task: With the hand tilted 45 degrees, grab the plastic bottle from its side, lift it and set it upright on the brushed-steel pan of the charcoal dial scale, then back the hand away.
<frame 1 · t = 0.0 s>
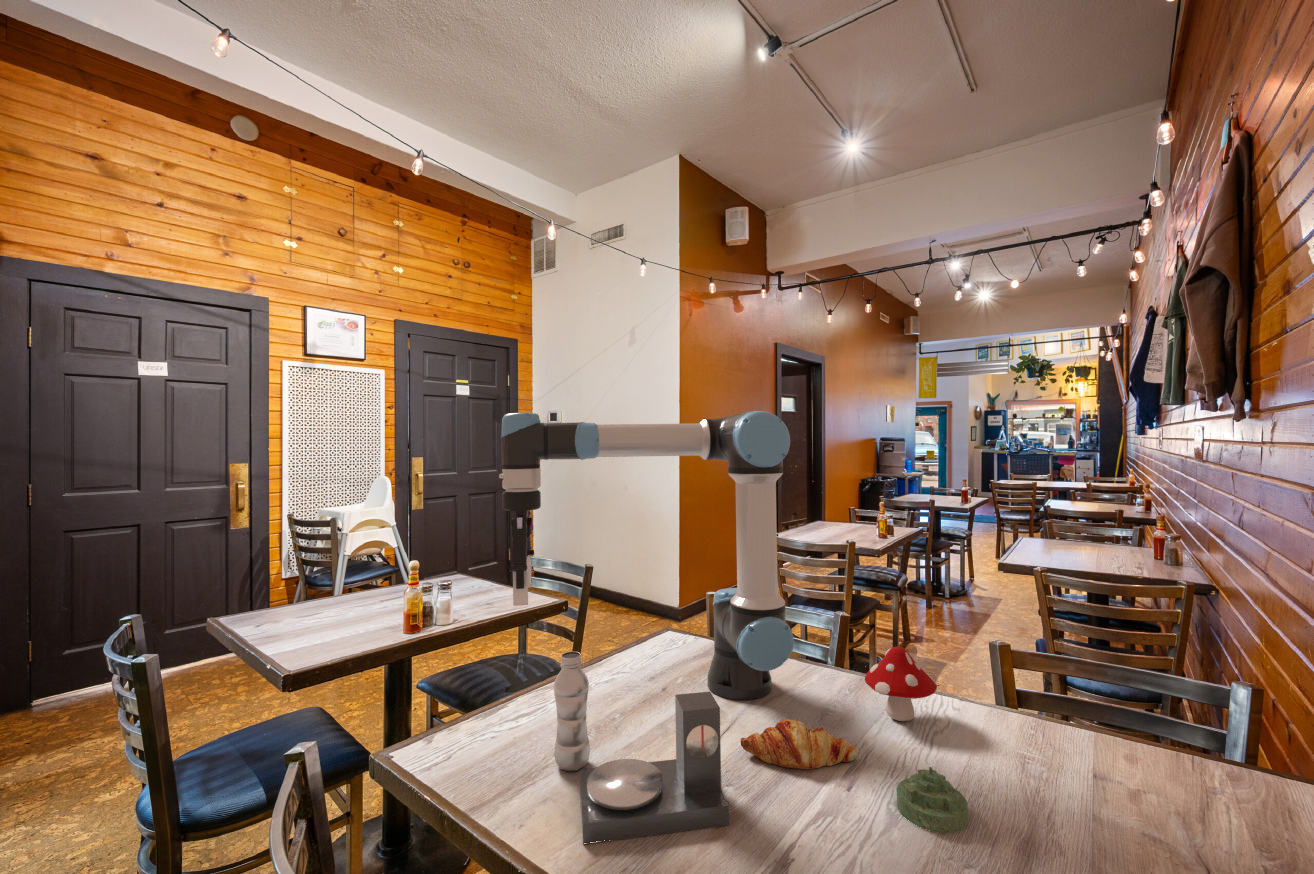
hand: (522, 595, 115), 28 cm above the table, tool pointing down, fingers open, 13 cm apart
decorative mushroom: (901, 719, 119), on the table
scale pan: (625, 782, 91), point 4 cm above the table, slide at 0.5 cm
decorative artifact: (931, 813, 89), on the table
plastic bottle: (572, 766, 103), on the table
croissant: (799, 760, 105), on the table
scale: (650, 805, 92), on the table
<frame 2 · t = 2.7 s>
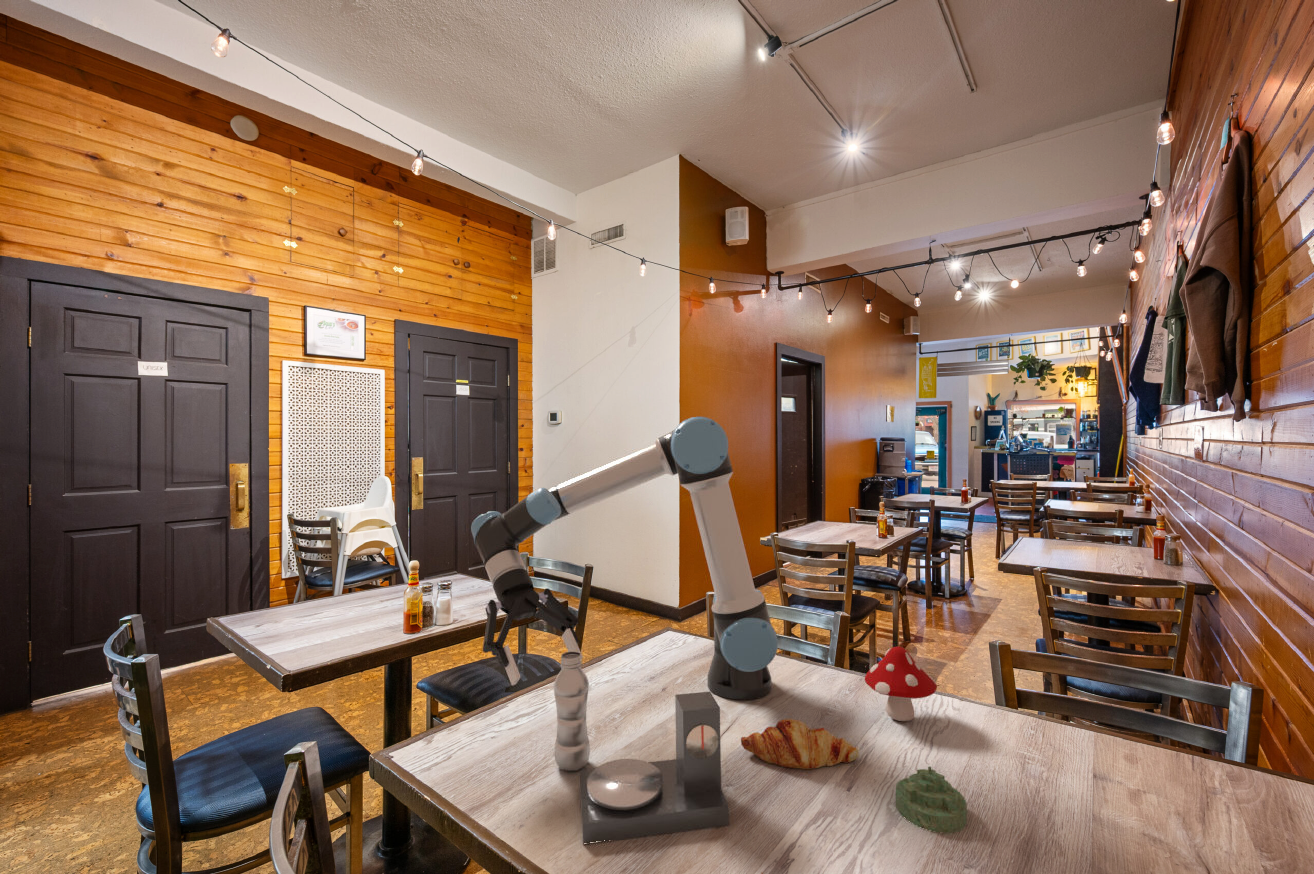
hand: (548, 671, 108), 16 cm above the table, tool tilted 45°, fingers open, 13 cm apart
nothing on the table moved.
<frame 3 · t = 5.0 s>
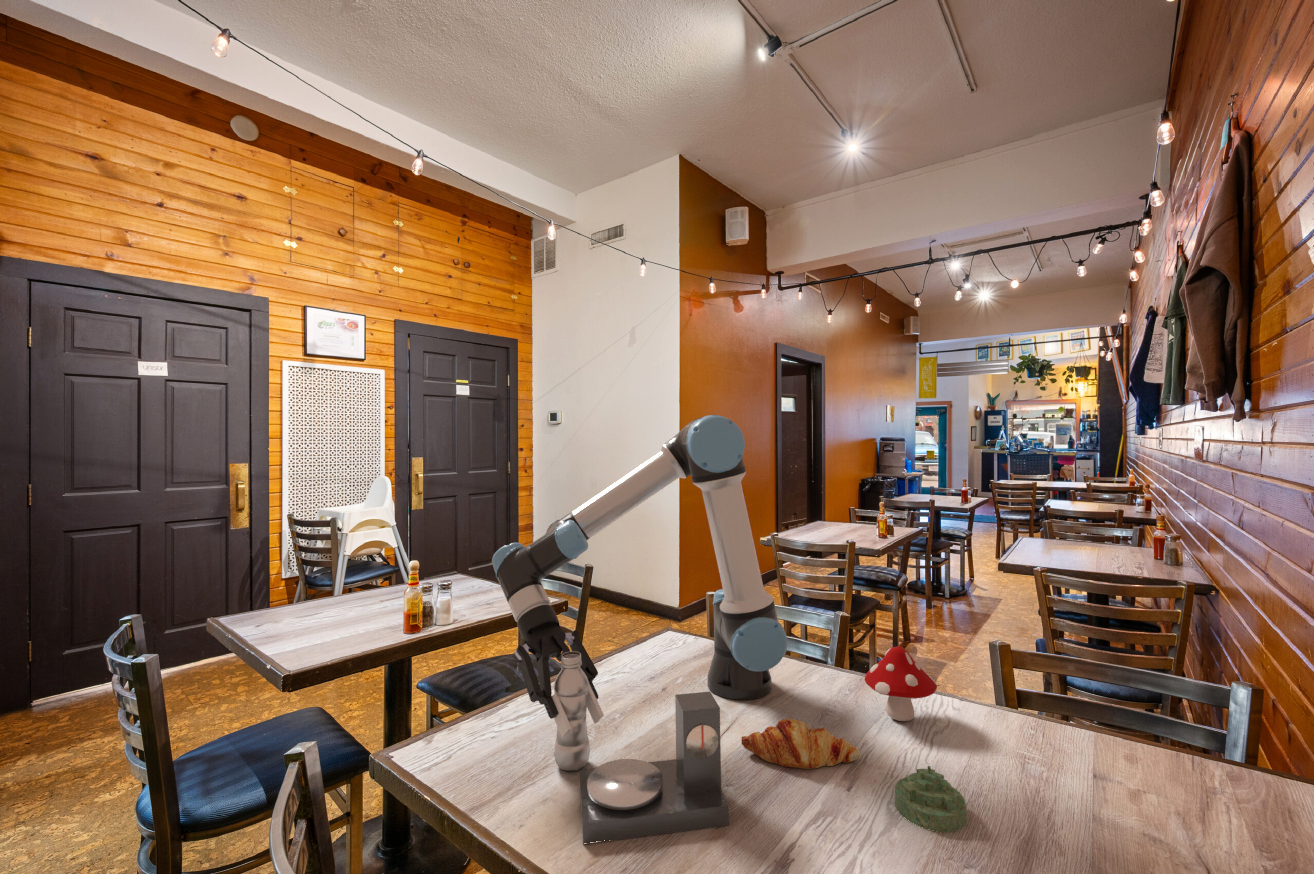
hand: (583, 725, 101), 8 cm above the table, tool tilted 45°, fingers closed on plastic bottle, 6 cm apart
plastic bottle: (572, 766, 103), on the table, touching gripper
everything else where it was.
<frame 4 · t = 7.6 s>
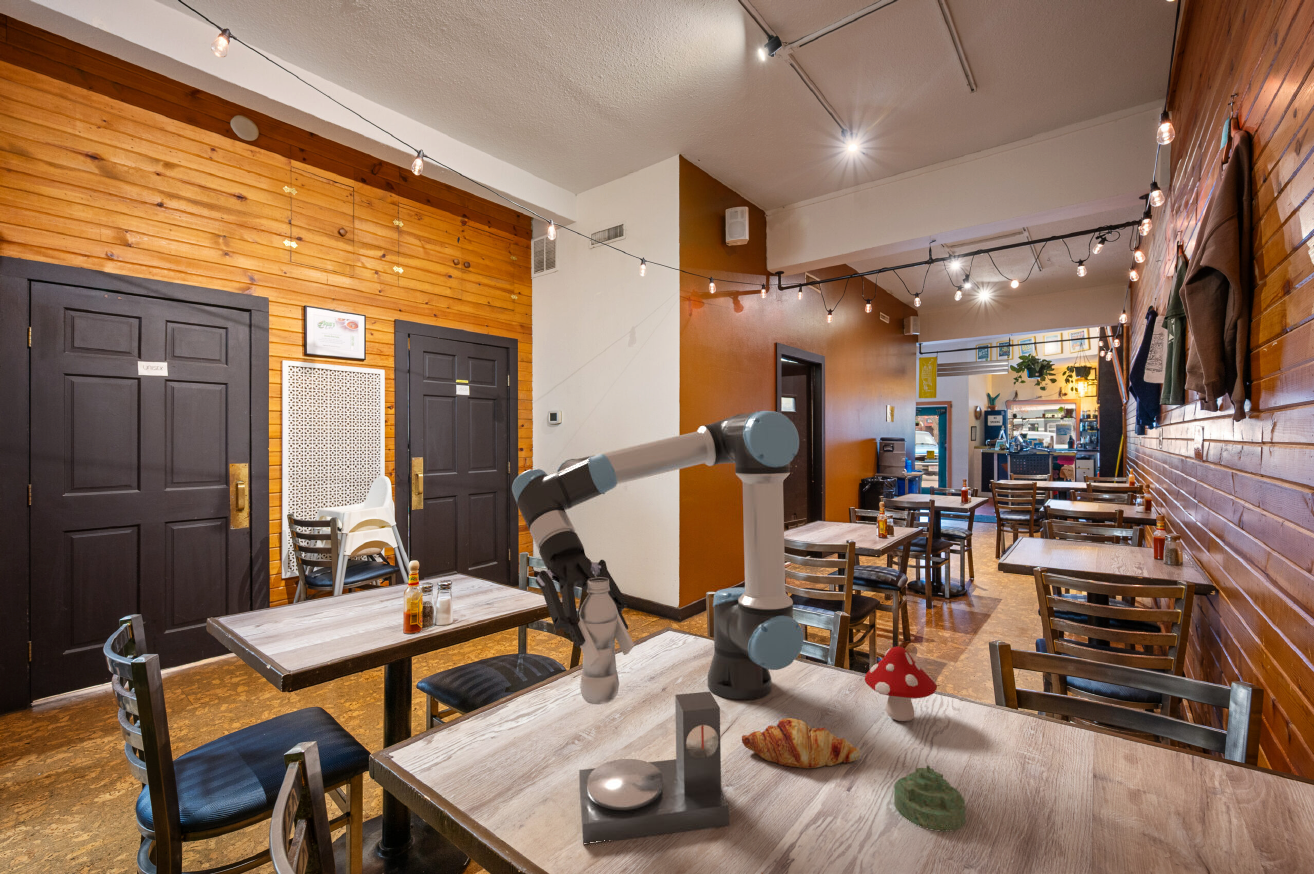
hand: (612, 655, 92), 24 cm above the table, tool tilted 45°, fingers closed on plastic bottle, 6 cm apart
plastic bottle: (599, 701, 95), point 15 cm above the table, touching gripper
everything else where it was.
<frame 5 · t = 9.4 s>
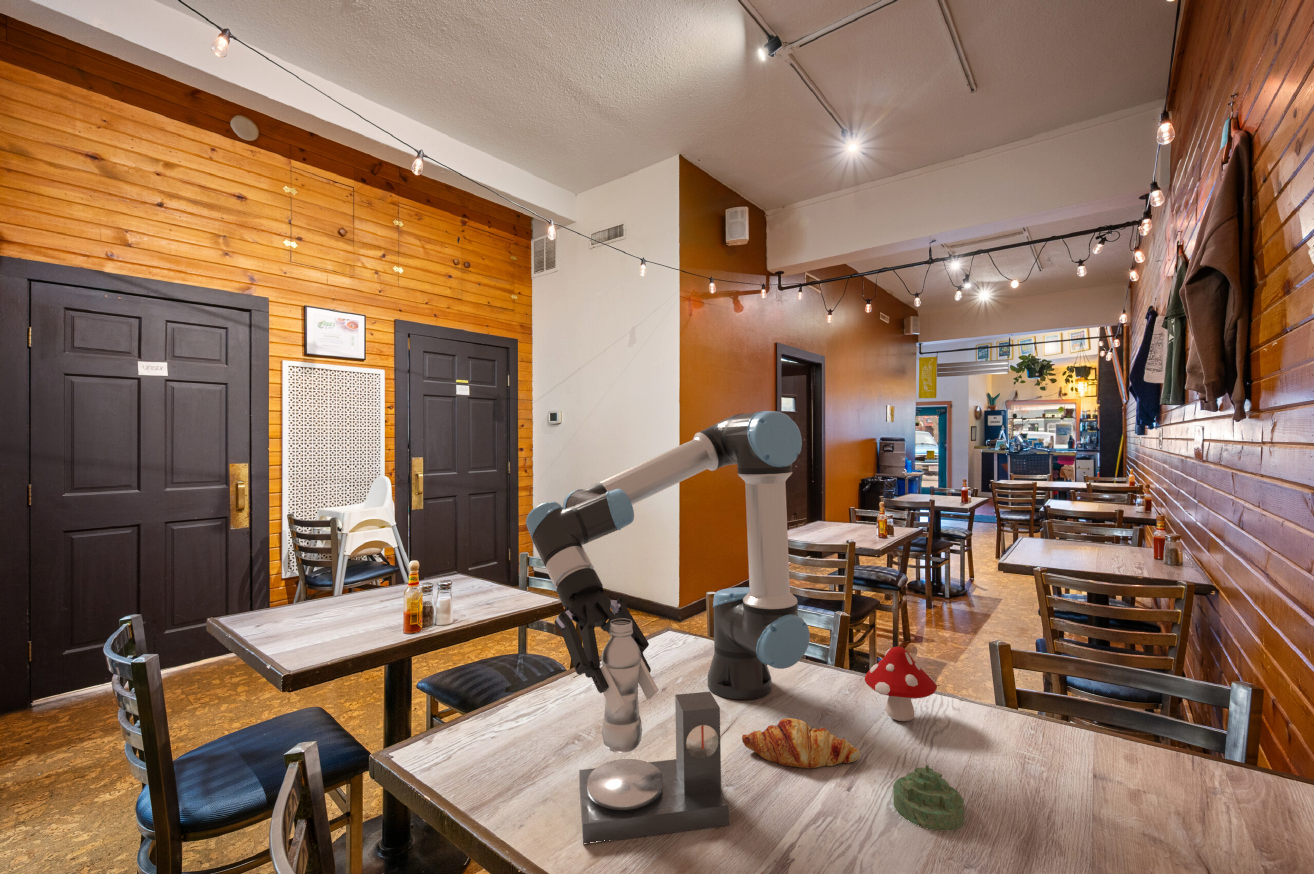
hand: (636, 701, 88), 18 cm above the table, tool tilted 45°, fingers closed on plastic bottle, 6 cm apart
plastic bottle: (622, 748, 91), point 10 cm above the table, touching gripper
everything else where it was.
when the fingers open (15 cm above the table, at t = 10.6 s): plastic bottle drops 2 cm, resting on scale pan.
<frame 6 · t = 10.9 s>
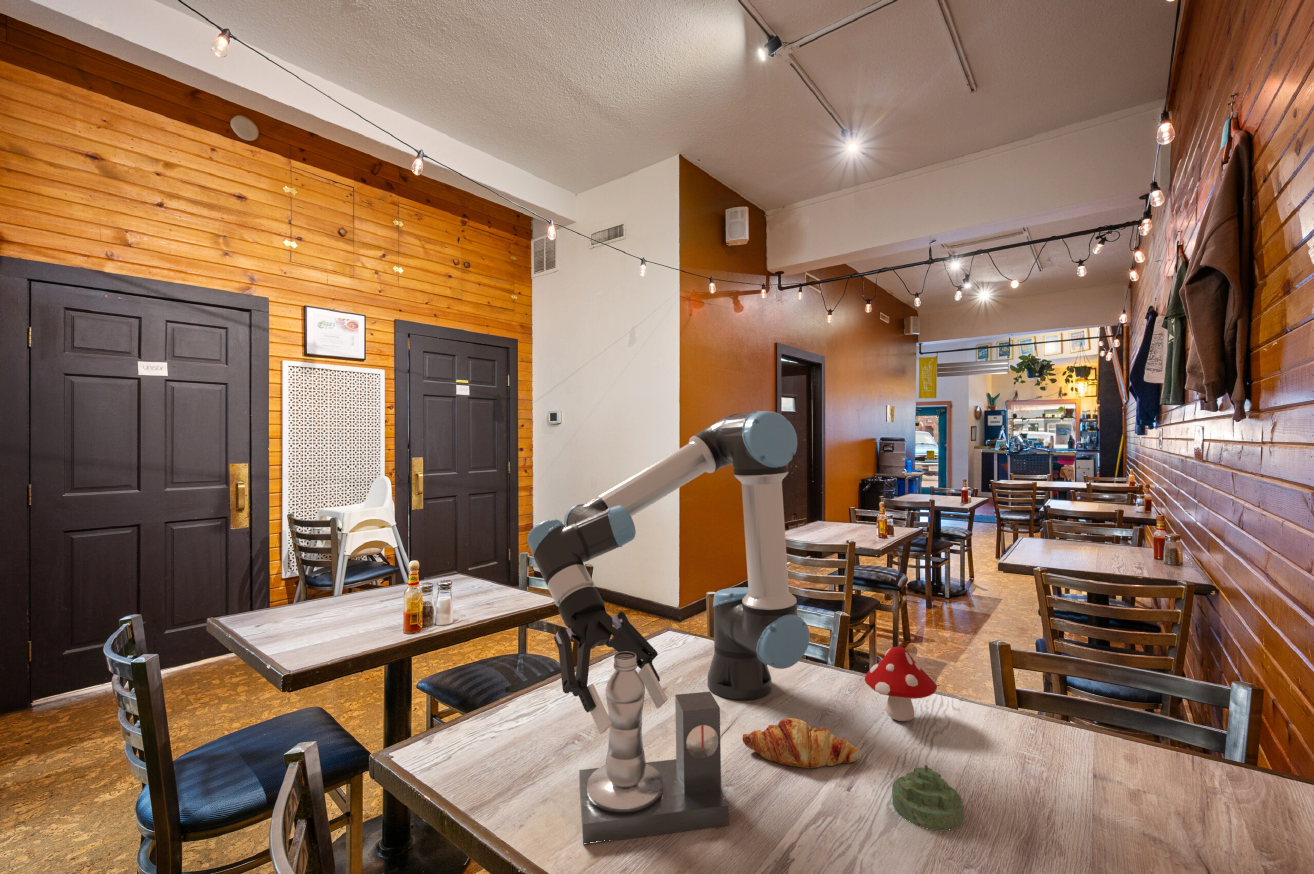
hand: (635, 715, 89), 16 cm above the table, tool tilted 45°, fingers open, 11 cm apart
scale pan: (625, 784, 91), point 4 cm above the table, slide at 0.9 cm, touching plastic bottle
plastic bottle: (625, 782, 91), point 4 cm above the table, touching scale pan
everything else where it was.
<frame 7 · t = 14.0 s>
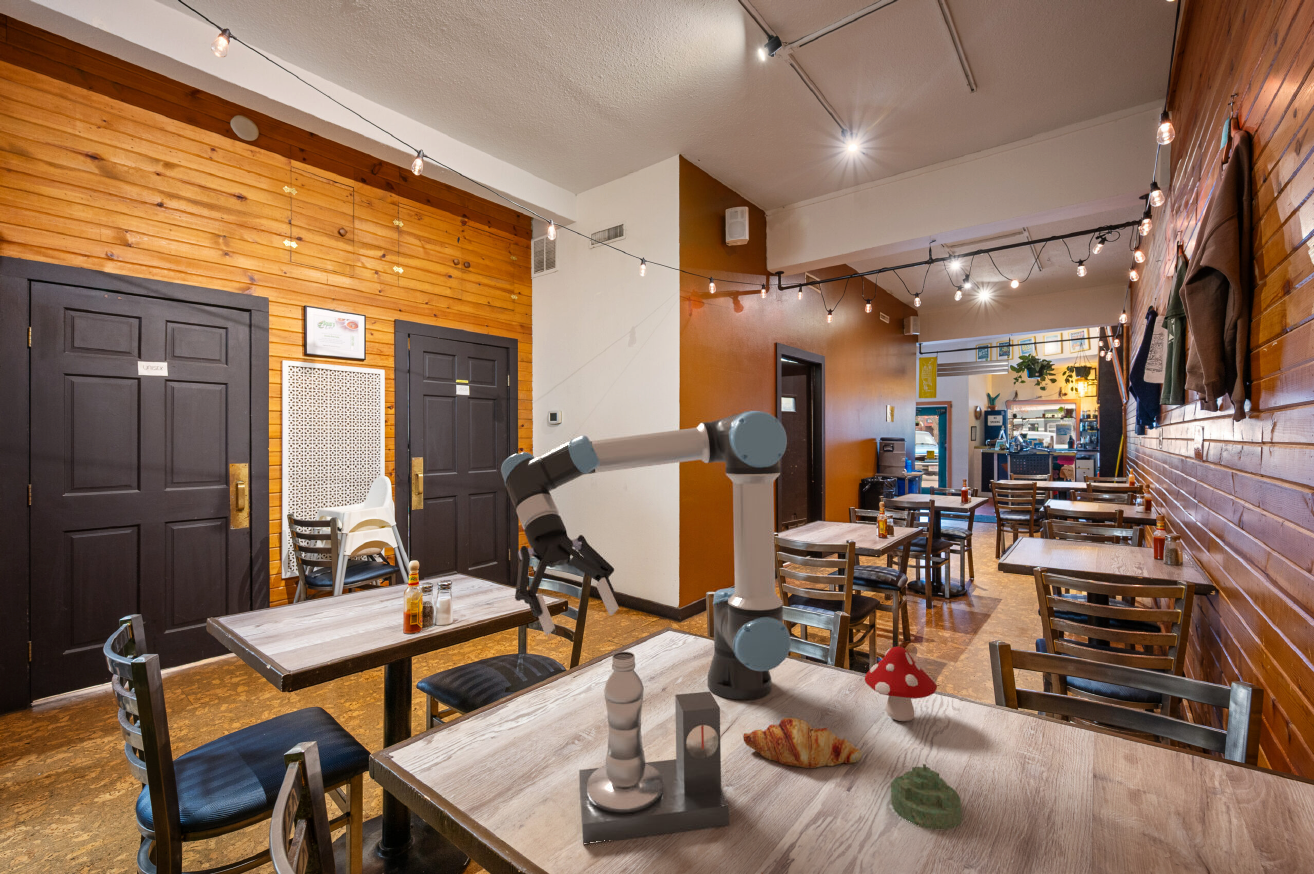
hand: (583, 621, 102), 26 cm above the table, tool tilted 40°, fingers open, 13 cm apart
nothing on the table moved.
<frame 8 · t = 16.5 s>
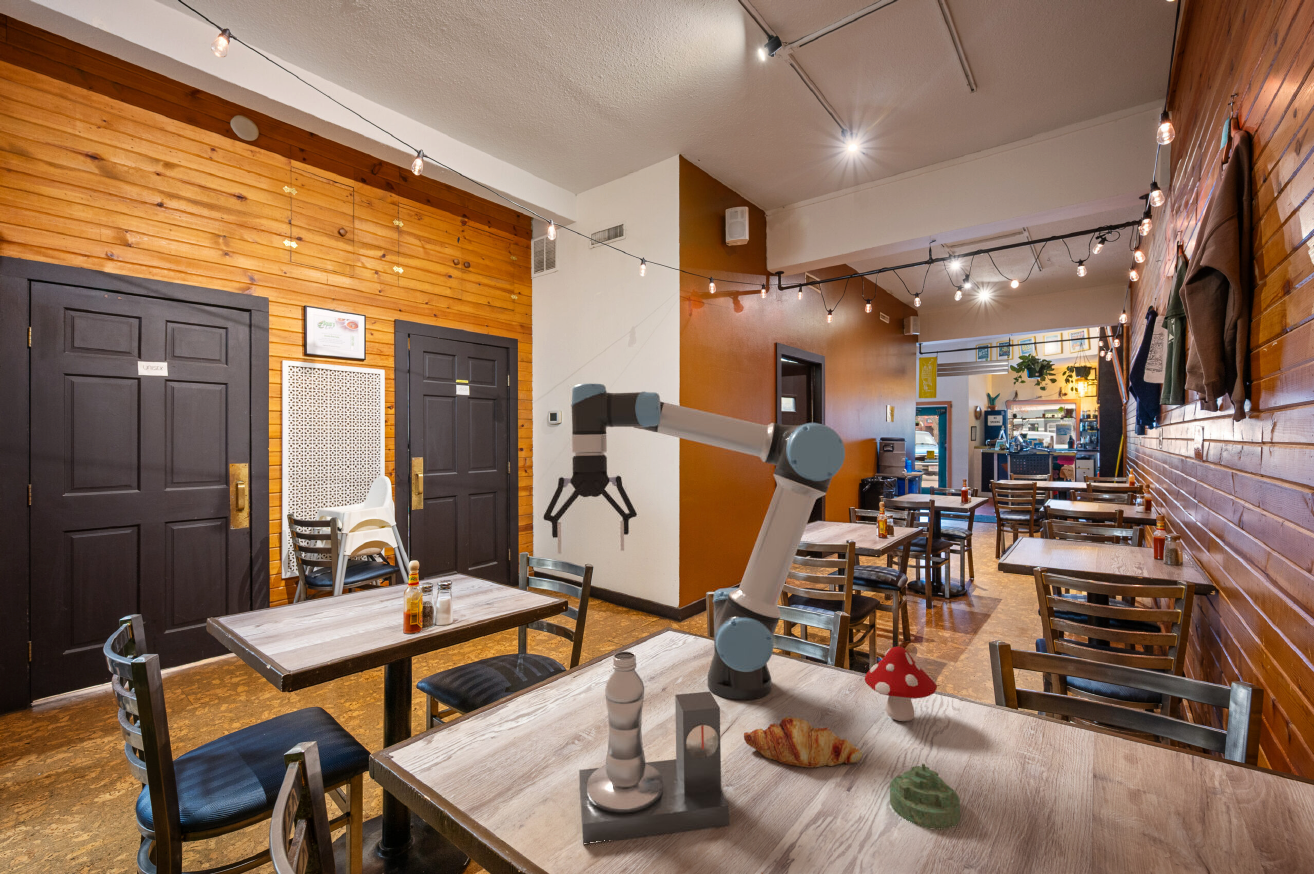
hand: (590, 551, 125), 35 cm above the table, tool pointing down, fingers open, 13 cm apart
at the end: plastic bottle inside the target area on the scale (0.2 cm from its centre), point 4.1 cm above the scale's base; plastic bottle tilted 0°; the gripper is holding nothing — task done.
